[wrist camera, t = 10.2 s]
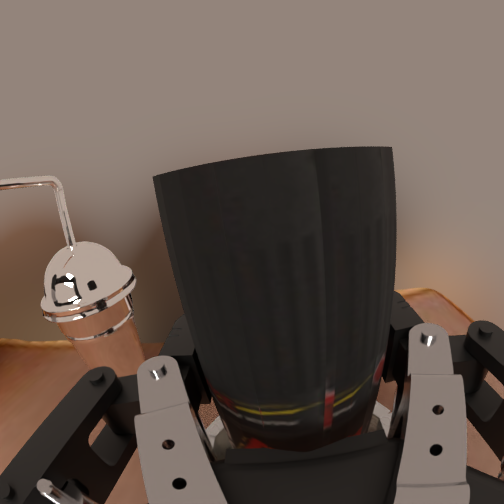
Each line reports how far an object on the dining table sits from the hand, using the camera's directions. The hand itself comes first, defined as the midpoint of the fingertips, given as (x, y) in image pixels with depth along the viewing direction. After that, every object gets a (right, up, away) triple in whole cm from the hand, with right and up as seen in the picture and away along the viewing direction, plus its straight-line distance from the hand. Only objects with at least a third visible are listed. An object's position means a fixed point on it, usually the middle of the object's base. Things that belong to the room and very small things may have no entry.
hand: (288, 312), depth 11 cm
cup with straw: (-13, -10, +11) cm, 20 cm away
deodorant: (+1, -9, +1) cm, 10 cm away
